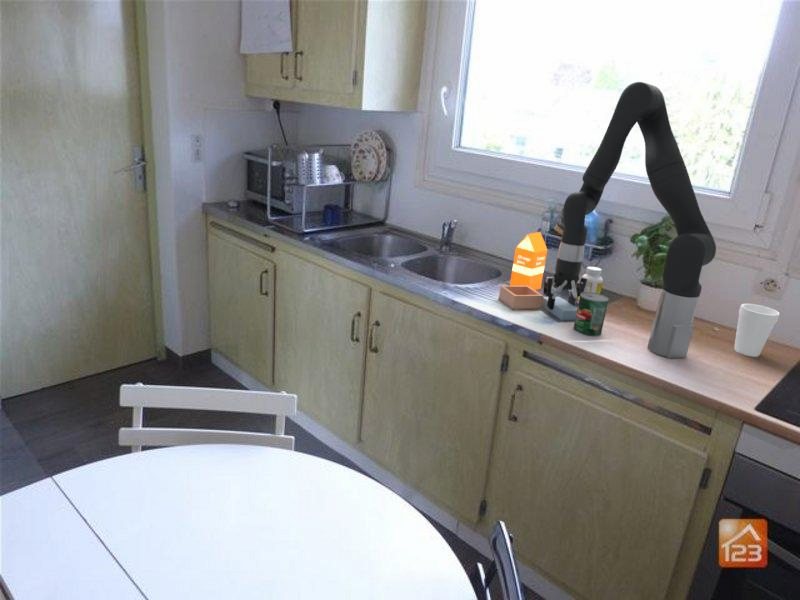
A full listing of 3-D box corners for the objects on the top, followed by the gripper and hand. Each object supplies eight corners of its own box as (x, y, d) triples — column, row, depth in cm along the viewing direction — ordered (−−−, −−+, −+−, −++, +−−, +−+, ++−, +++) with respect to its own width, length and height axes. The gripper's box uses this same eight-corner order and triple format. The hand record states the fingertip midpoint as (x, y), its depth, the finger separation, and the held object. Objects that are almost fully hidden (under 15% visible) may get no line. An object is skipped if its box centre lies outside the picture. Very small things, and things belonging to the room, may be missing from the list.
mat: (589, 322, 173) (589, 321, 173) (557, 323, 170) (558, 322, 170) (560, 304, 188) (560, 303, 188) (531, 305, 184) (531, 303, 184)
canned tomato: (606, 334, 165) (614, 298, 162) (591, 339, 160) (599, 302, 157) (582, 325, 171) (589, 290, 167) (567, 329, 166) (574, 294, 162)
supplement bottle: (594, 303, 193) (602, 266, 188) (599, 309, 186) (607, 272, 182) (574, 300, 193) (582, 264, 189) (578, 307, 187) (586, 269, 183)
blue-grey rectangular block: (580, 319, 174) (581, 310, 173) (561, 320, 172) (563, 310, 171) (557, 305, 186) (558, 296, 185) (540, 305, 184) (541, 296, 183)
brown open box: (540, 310, 180) (543, 295, 178) (512, 311, 177) (514, 295, 175) (525, 299, 189) (527, 285, 187) (498, 300, 186) (500, 285, 184)
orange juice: (540, 288, 204) (550, 234, 197) (527, 292, 197) (537, 236, 191) (522, 282, 208) (531, 229, 202) (509, 286, 202) (517, 231, 196)
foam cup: (731, 342, 168) (744, 301, 164) (767, 352, 162) (781, 310, 158) (725, 351, 161) (738, 308, 156) (762, 362, 155) (777, 317, 151)
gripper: (556, 260, 167) (546, 313, 173) (597, 261, 172) (586, 312, 177) (543, 254, 174) (534, 305, 180) (583, 254, 179) (573, 304, 184)
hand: (560, 308), depth 178 cm, fingers closed on blue-grey rectangular block, 6 cm apart
